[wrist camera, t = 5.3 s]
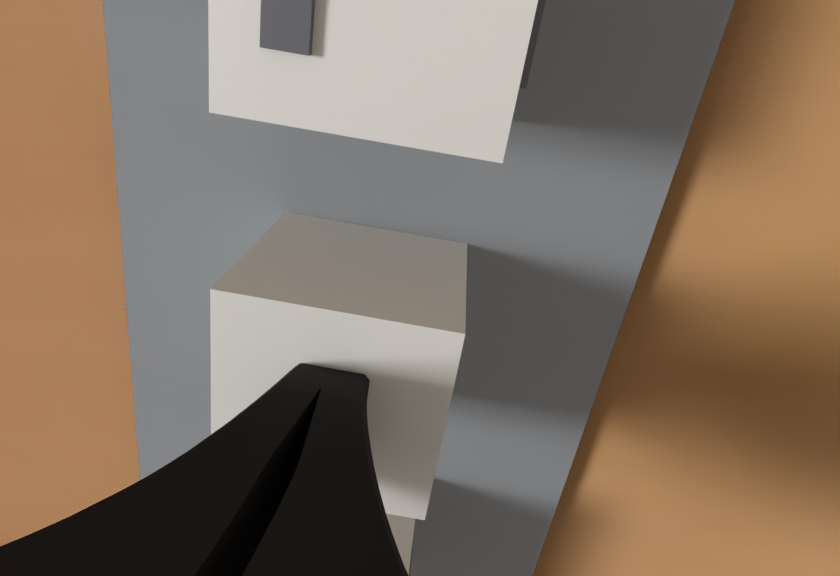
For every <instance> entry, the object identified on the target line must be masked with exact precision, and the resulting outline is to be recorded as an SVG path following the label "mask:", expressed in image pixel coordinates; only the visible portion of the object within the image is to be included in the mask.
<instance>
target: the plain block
mask: <svg viewBox="0 0 840 576" xmlns="http://www.w3.org/2000/svg"><path fill="white" fill-rule="evenodd" d="M466 282H467V243H461V242H455V241H450V240H444V239H438V238H433V237H427V236H421V235H416V234H410V233H404V232H398V231H393V230H387V229H381V228H376V227H370V226H364V225H359V224H353V223H347V222H341V221H336V220H330V219H324V218H319V217H313V216H307V215H301V214H296V213H290V212H286V213H285V214H284V215H283V216H282V217H281V218H280V219H279V220H278V221H277V222H276V223H275V224H274V225H273V226H272V227H271V228H270V229H269V230H268V231H267V232H266V233H265V234H264V235H263V236H262V237H261V238H260V239H259V240H258V241H257V242H256V243H255V244H254V245H253V246H252V247H251V248H250V249H249V250H248V251H247V252H246V253H245V254H244V255H243V256H242V257H241V258H240V259H239V260H238V261H237V262H236V263H235V264H234V265H233V266H232V267H231V268H230V269H229V270H228V271H227V272H226V274H225V275H224V276H223V277H222V278H221V279H220V280H219V281H218V282H217V283H216V284H215V285H214V286H213V287H212V288H211V289H210V345H211V434H212V433H214V432H215V431H217V430H218V429H219V428H221V427H222V426H224V425H225V424H226V423H228V422H229V421H230V420H232V419H233V418H234V417H235V416H237V415H238V414H239V413H240V412H242V411H243V410H244V409H246V408H247V407H248V406H249V405H251V404H252V403H253V402H254V401H256V400H257V399H258V398H259V397H260V396H262V395H263V394H264V393H265V392H266V391H268V390H269V389H270V388H271V387H272V386H273V385H275V384H276V383H277V382H278V381H279V380H280V379H281V378H283V377H284V376H285V375H286V374H287V373H288V372H289V371H290V370H292V369H293V368H294V367H295V366H297V365H298V364H300V363H304V364H309V365H315V366H320V367H326V368H332V369H337V370H343V371H349V372H355V373H360V374H365V375H366V376H367V378H368V379H369V380H370V383H369V390H368V397H367V421H368V431H369V438H370V445H371V452H372V458H373V463H374V468H375V473H376V477H377V481H378V486H379V490H380V494H381V498H382V501H383V505H384V508H385V512H386V514H392V515H398V516H403V517H409V518H414V519H420V520H425V517H426V512H427V508H428V503H429V499H430V494H431V489H432V485H433V480H434V476H435V471H436V467H437V462H438V457H439V453H440V448H441V444H442V439H443V435H444V430H445V425H446V421H447V416H448V412H449V407H450V402H451V398H452V393H453V389H454V384H455V380H456V375H457V370H458V366H459V361H460V357H461V352H462V348H463V343H464V338H465V331H466Z"/></svg>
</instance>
